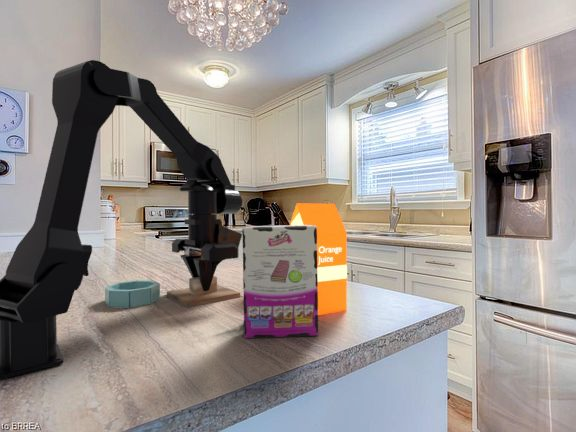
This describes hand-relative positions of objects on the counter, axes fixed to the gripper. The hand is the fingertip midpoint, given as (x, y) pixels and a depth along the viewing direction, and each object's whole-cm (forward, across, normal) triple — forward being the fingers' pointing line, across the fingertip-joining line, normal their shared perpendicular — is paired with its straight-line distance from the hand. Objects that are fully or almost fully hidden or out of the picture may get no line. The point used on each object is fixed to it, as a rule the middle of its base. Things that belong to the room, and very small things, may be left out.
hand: (203, 289), depth 68 cm
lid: (+1, 0, 0) cm, 1 cm away
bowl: (+2, +6, +12) cm, 14 cm away
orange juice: (+3, -19, -14) cm, 24 cm away
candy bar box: (+3, -24, -1) cm, 24 cm away
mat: (+2, 0, 0) cm, 2 cm away
